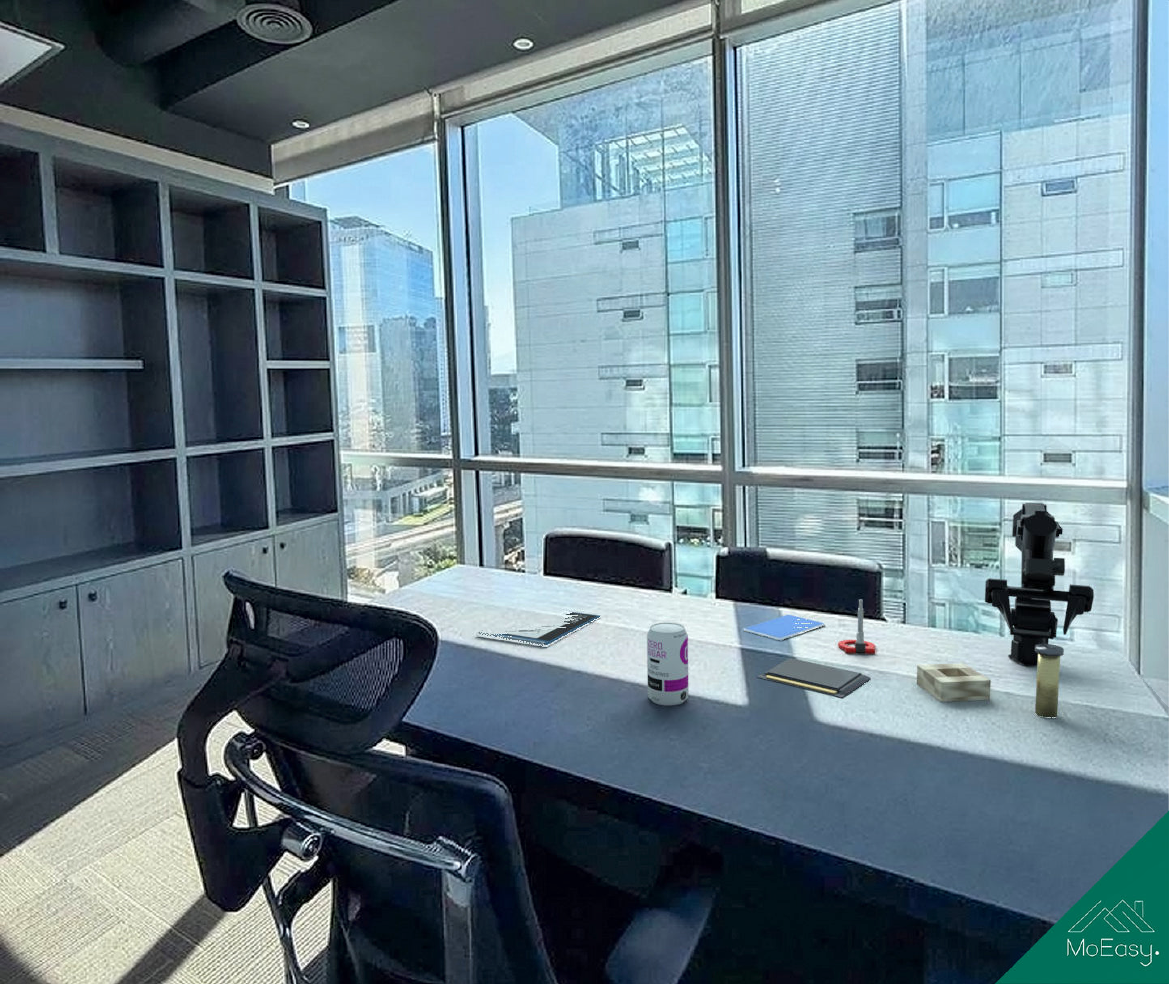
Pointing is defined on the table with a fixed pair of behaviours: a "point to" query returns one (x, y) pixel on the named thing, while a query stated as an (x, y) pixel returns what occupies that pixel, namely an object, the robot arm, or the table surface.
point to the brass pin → (1047, 679)
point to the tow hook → (858, 638)
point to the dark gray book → (816, 677)
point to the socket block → (953, 682)
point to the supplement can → (667, 663)
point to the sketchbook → (550, 630)
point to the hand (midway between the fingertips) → (1037, 630)
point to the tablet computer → (783, 627)
